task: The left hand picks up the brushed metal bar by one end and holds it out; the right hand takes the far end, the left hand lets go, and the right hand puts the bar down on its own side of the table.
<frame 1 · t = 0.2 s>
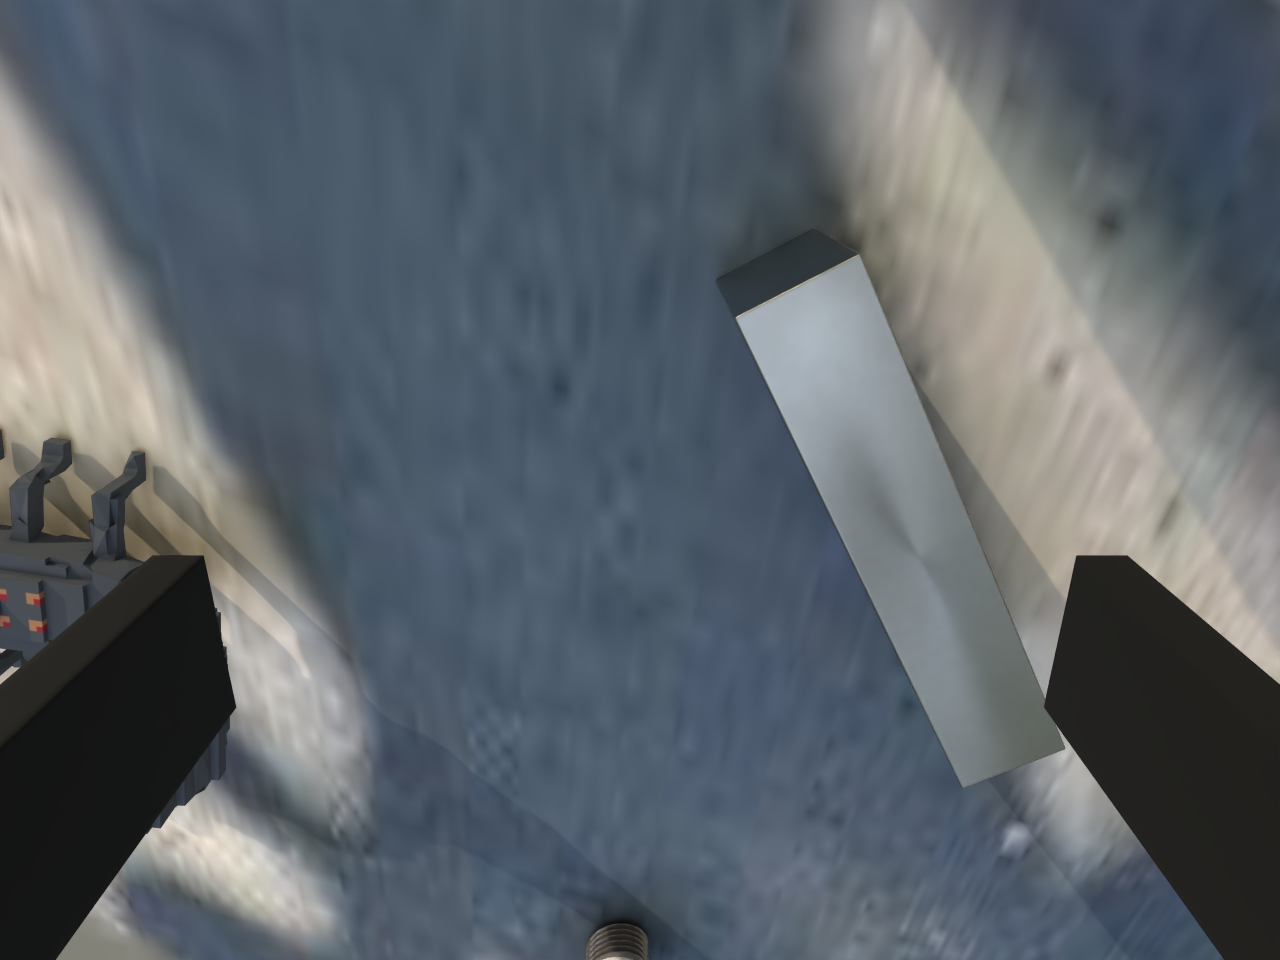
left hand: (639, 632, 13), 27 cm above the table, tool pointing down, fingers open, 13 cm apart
bar: (866, 477, 41), on the table
toy: (50, 546, 43), on the table
light bulb: (618, 943, 53), on the table
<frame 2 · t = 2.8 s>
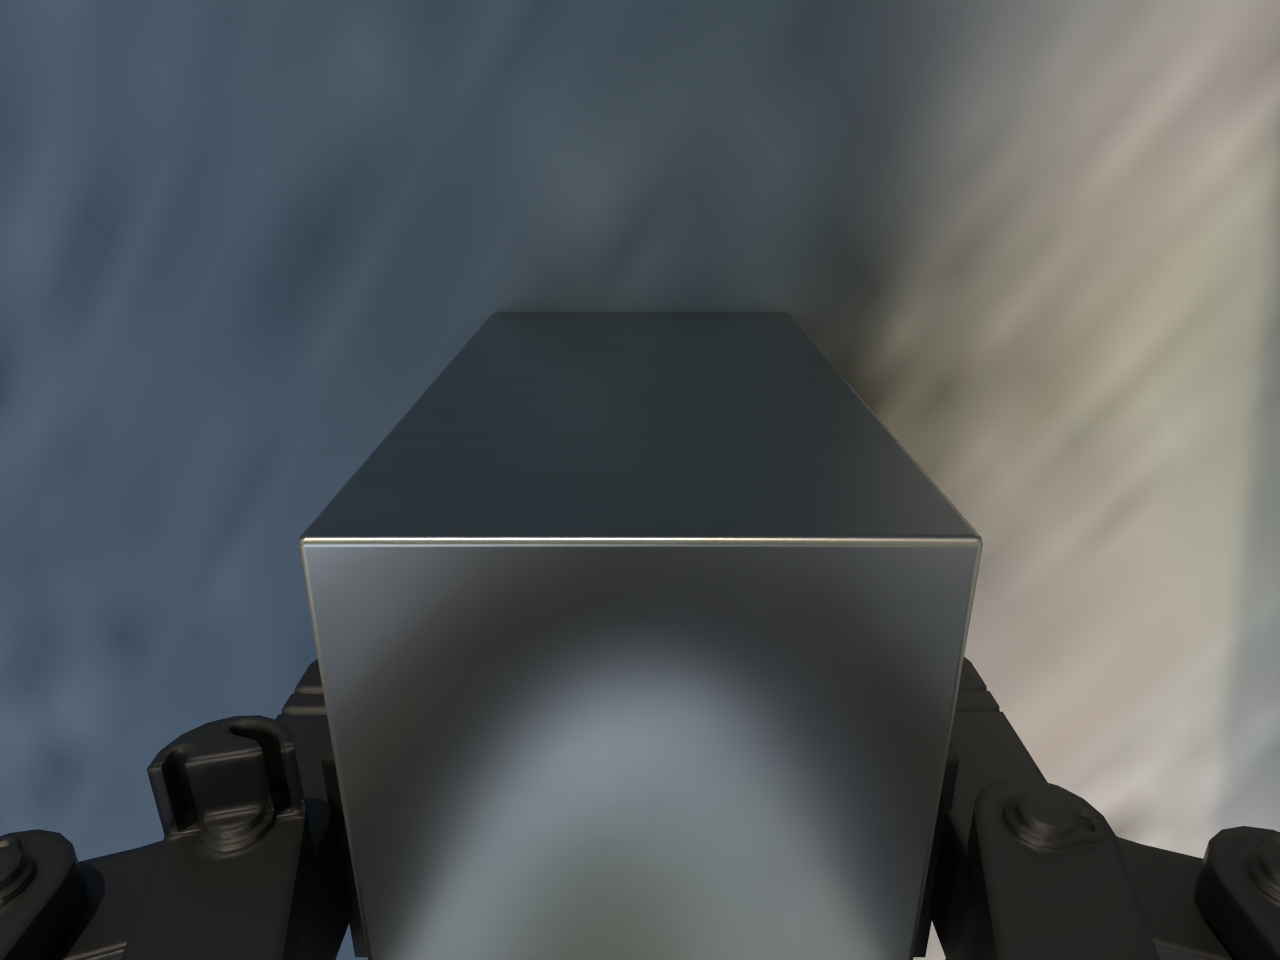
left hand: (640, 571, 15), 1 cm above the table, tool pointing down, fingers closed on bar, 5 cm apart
bar: (640, 874, 18), on the table, touching left hand
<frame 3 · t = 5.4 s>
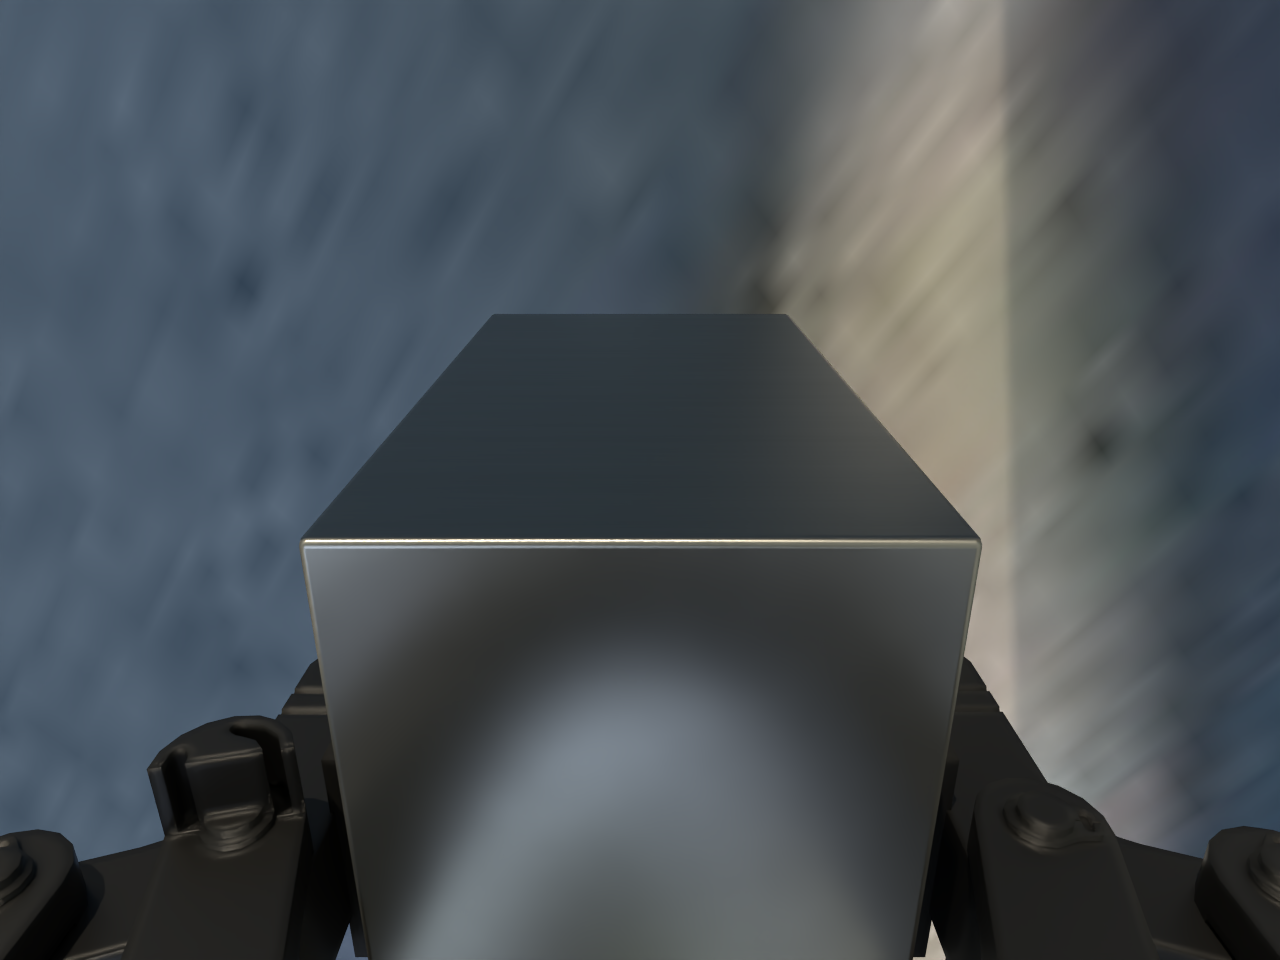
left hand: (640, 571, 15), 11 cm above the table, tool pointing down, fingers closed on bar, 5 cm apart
bar: (640, 874, 18), point 10 cm above the table, touching left hand
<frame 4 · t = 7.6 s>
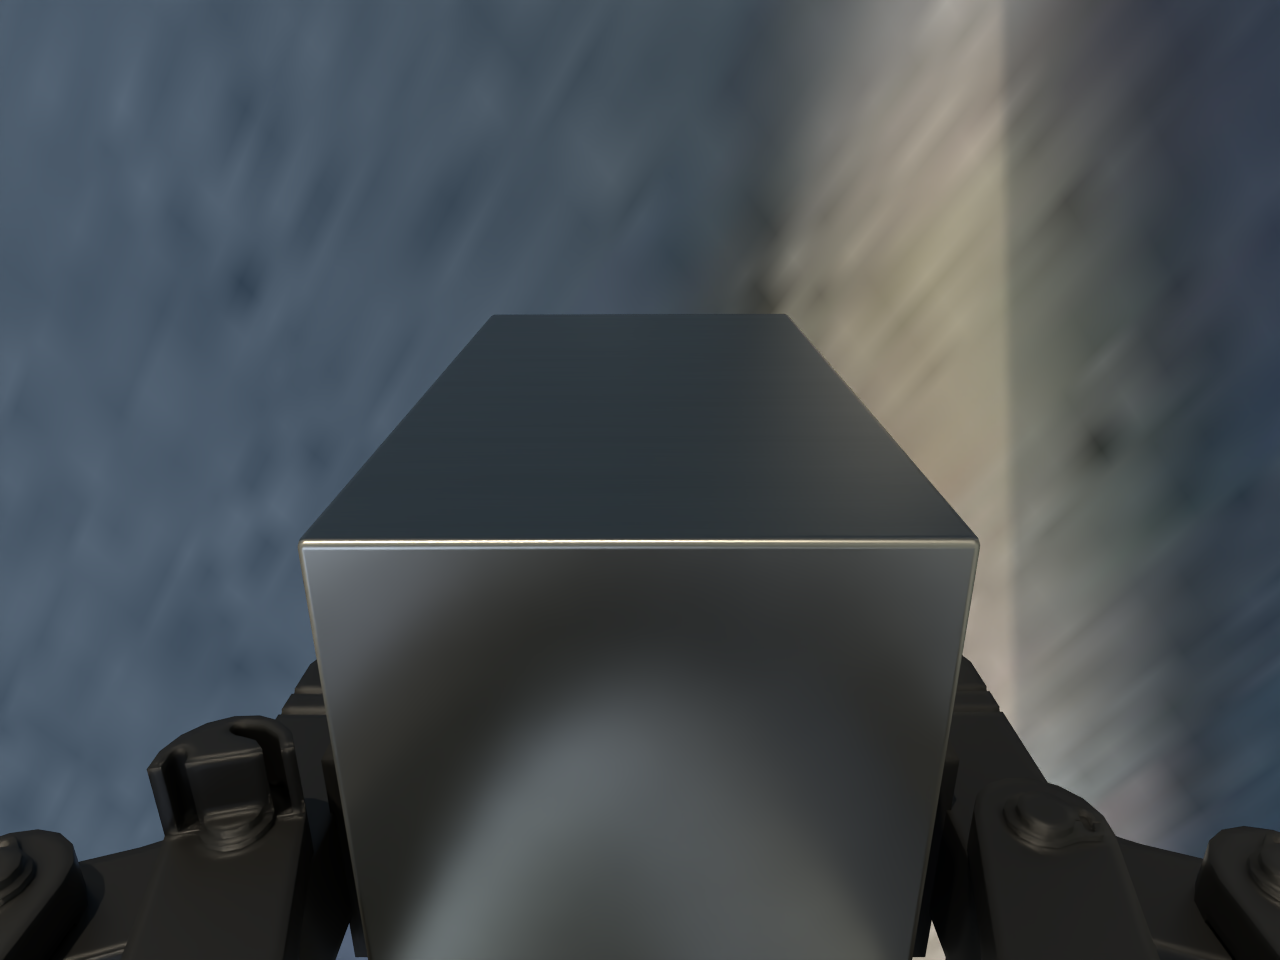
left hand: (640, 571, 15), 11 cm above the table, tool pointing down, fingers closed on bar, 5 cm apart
bar: (641, 874, 18), point 10 cm above the table, touching left hand, right hand
when the left hand's fingers open (11 cm above the table, at t = 8.2 s): bar stays where it is, held by the right hand.
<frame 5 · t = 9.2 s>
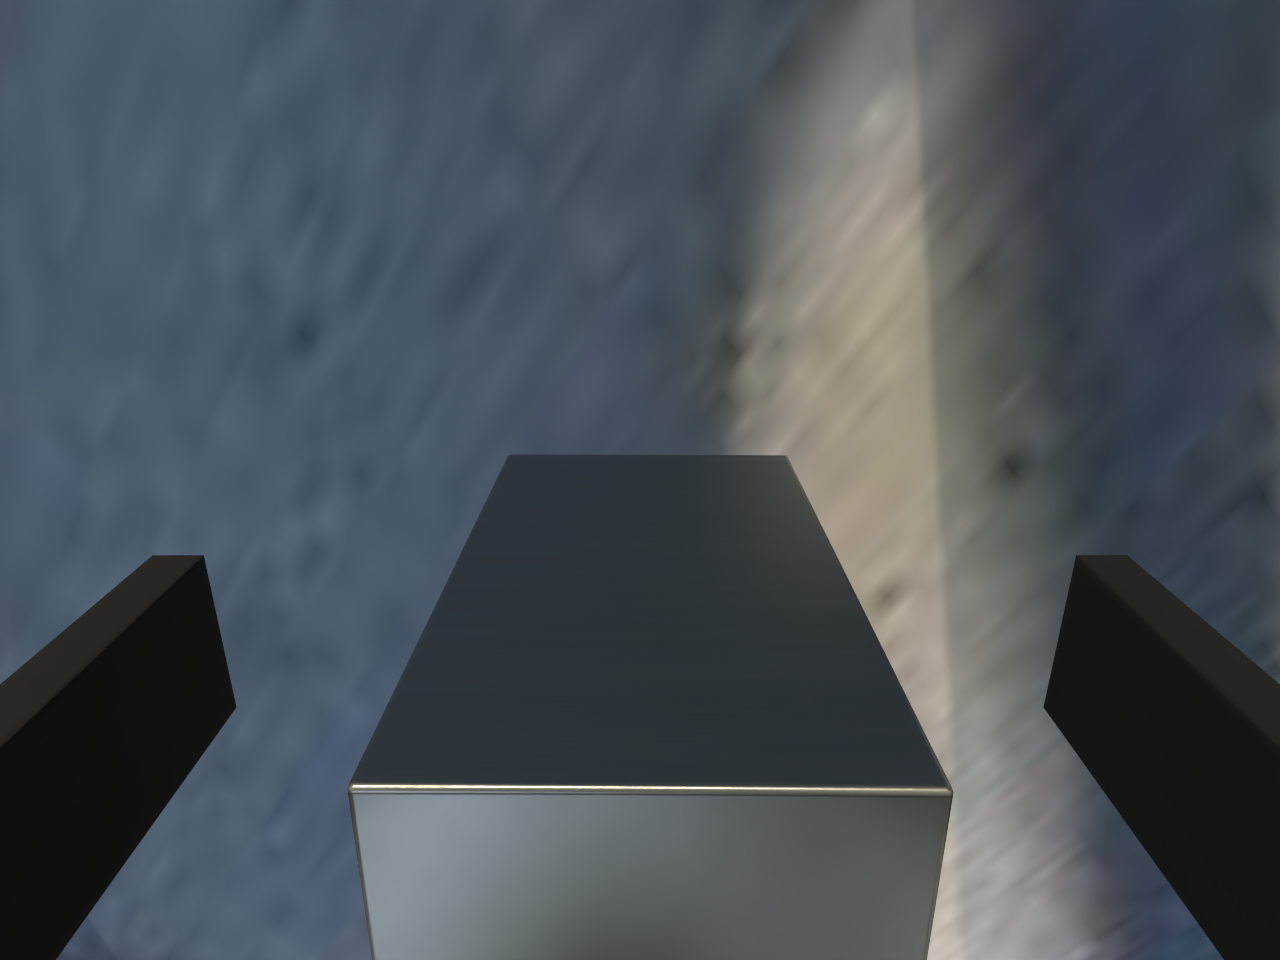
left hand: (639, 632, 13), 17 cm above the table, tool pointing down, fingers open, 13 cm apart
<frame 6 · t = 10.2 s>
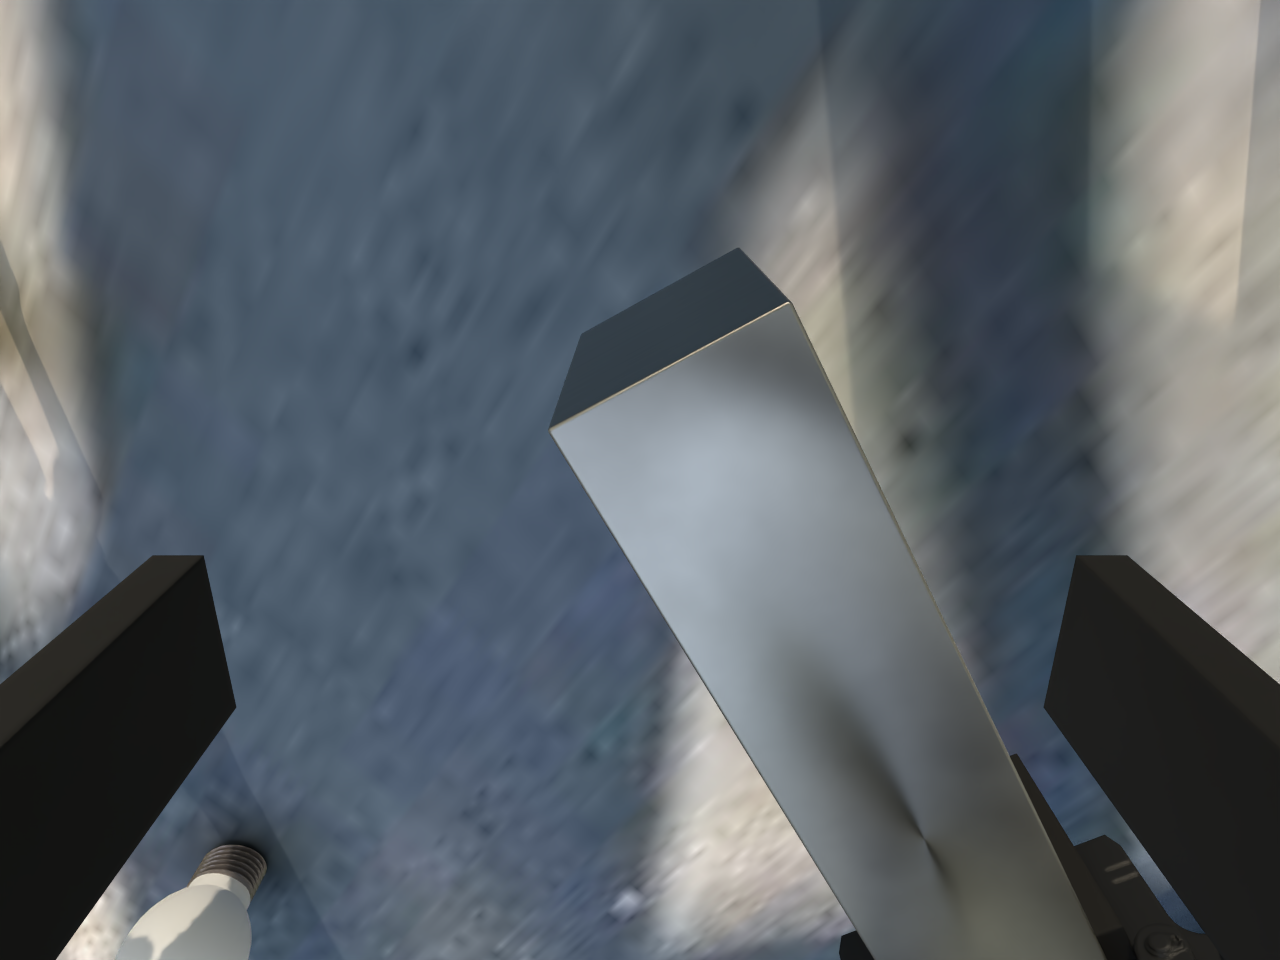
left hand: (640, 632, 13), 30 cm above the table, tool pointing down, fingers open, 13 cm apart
bar: (841, 634, 26), point 18 cm above the table, touching right hand
light bulb: (236, 864, 54), on the table
when the right hand's fingers open (2 cm above the table, at t = 13.1 s): bar stays where it is, on the table.
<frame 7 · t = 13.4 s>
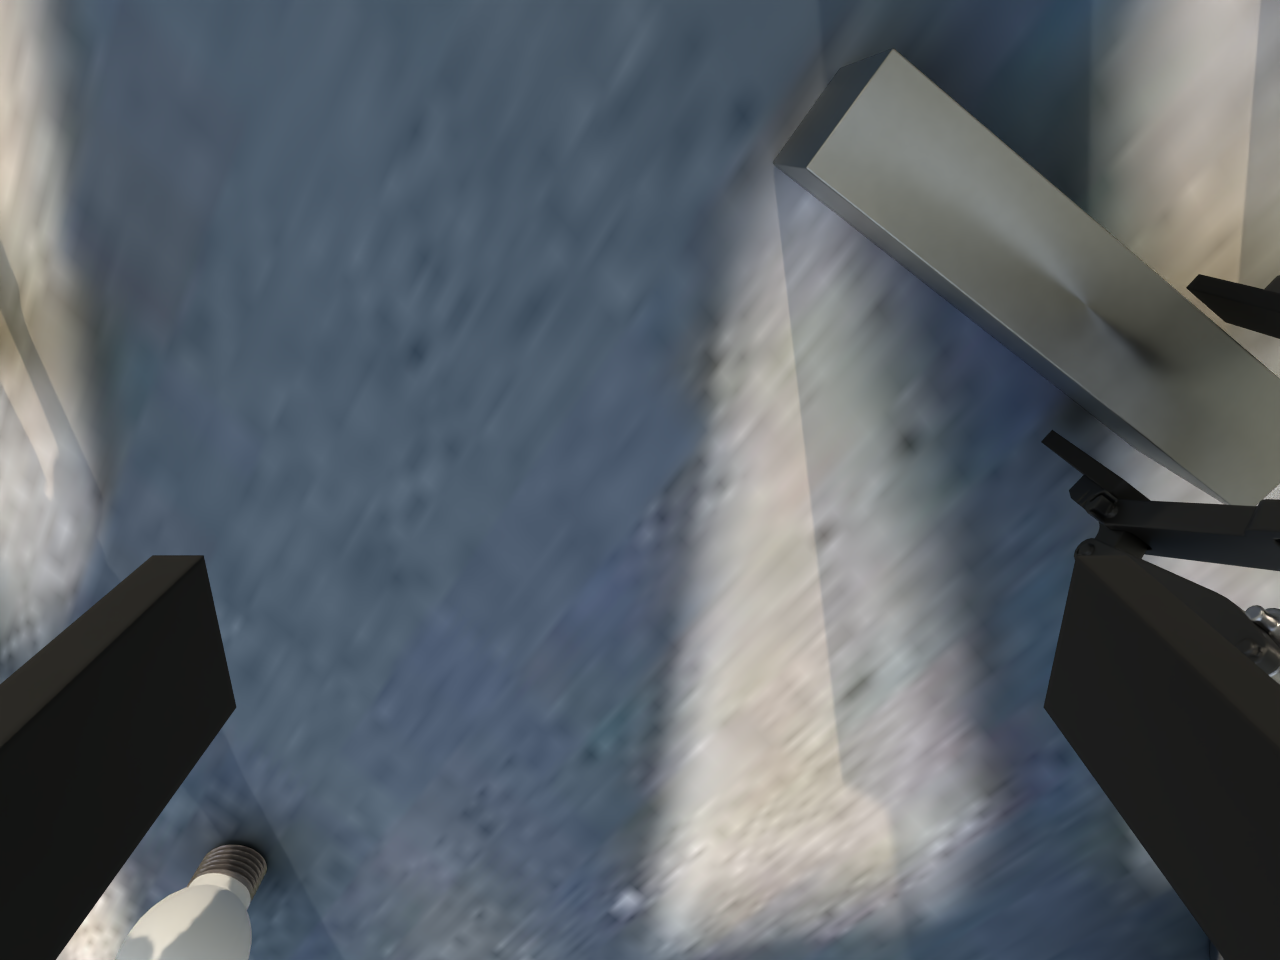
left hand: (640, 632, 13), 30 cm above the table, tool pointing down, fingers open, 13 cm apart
bar: (1000, 274, 40), on the table
light bulb: (236, 864, 54), on the table
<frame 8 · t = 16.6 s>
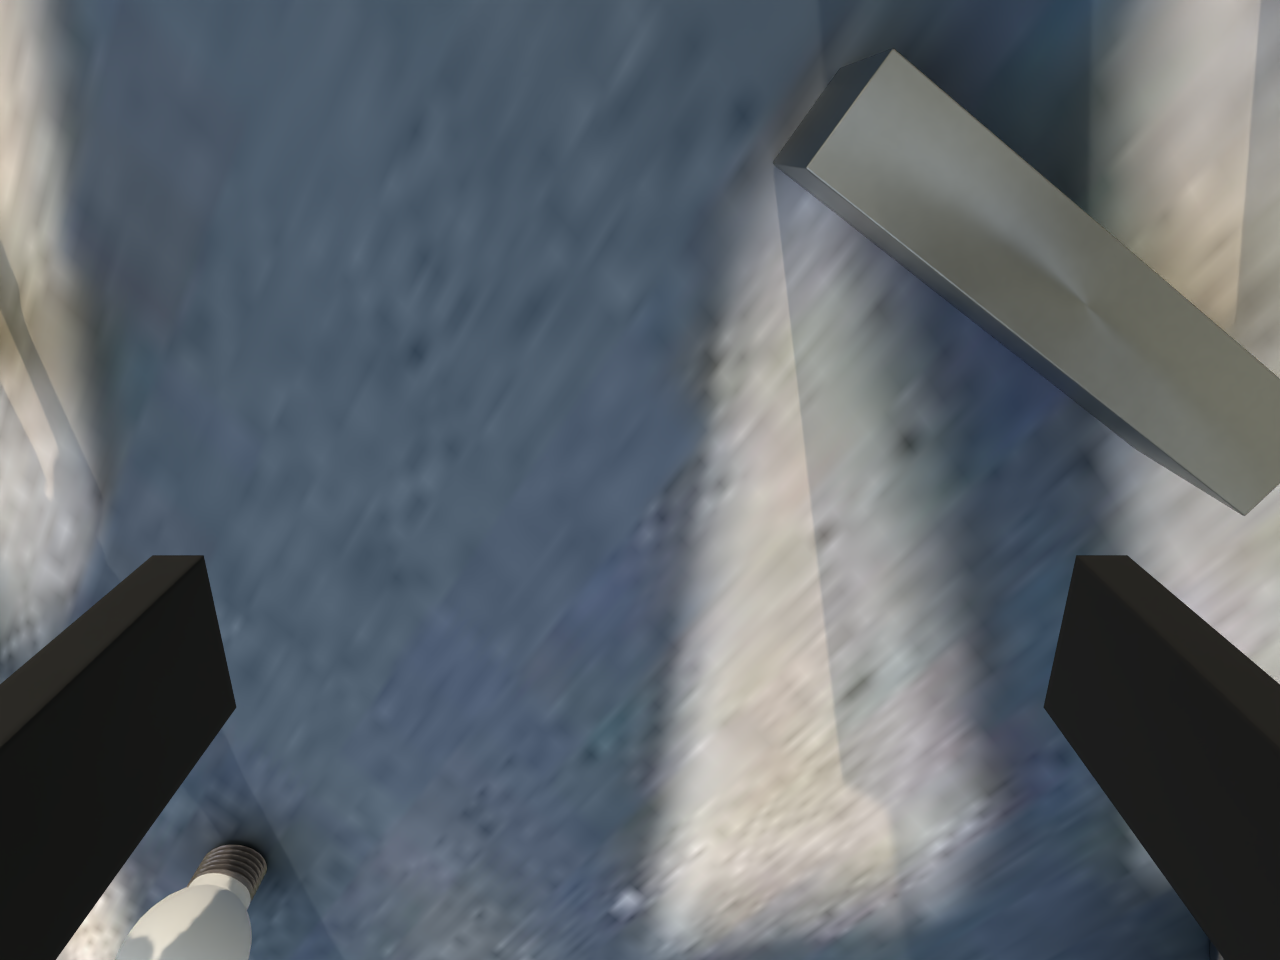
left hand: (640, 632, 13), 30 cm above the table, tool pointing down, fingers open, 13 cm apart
bar: (1000, 274, 40), on the table
light bulb: (236, 864, 54), on the table
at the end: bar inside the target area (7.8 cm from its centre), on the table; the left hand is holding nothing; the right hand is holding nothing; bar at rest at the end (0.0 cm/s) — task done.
